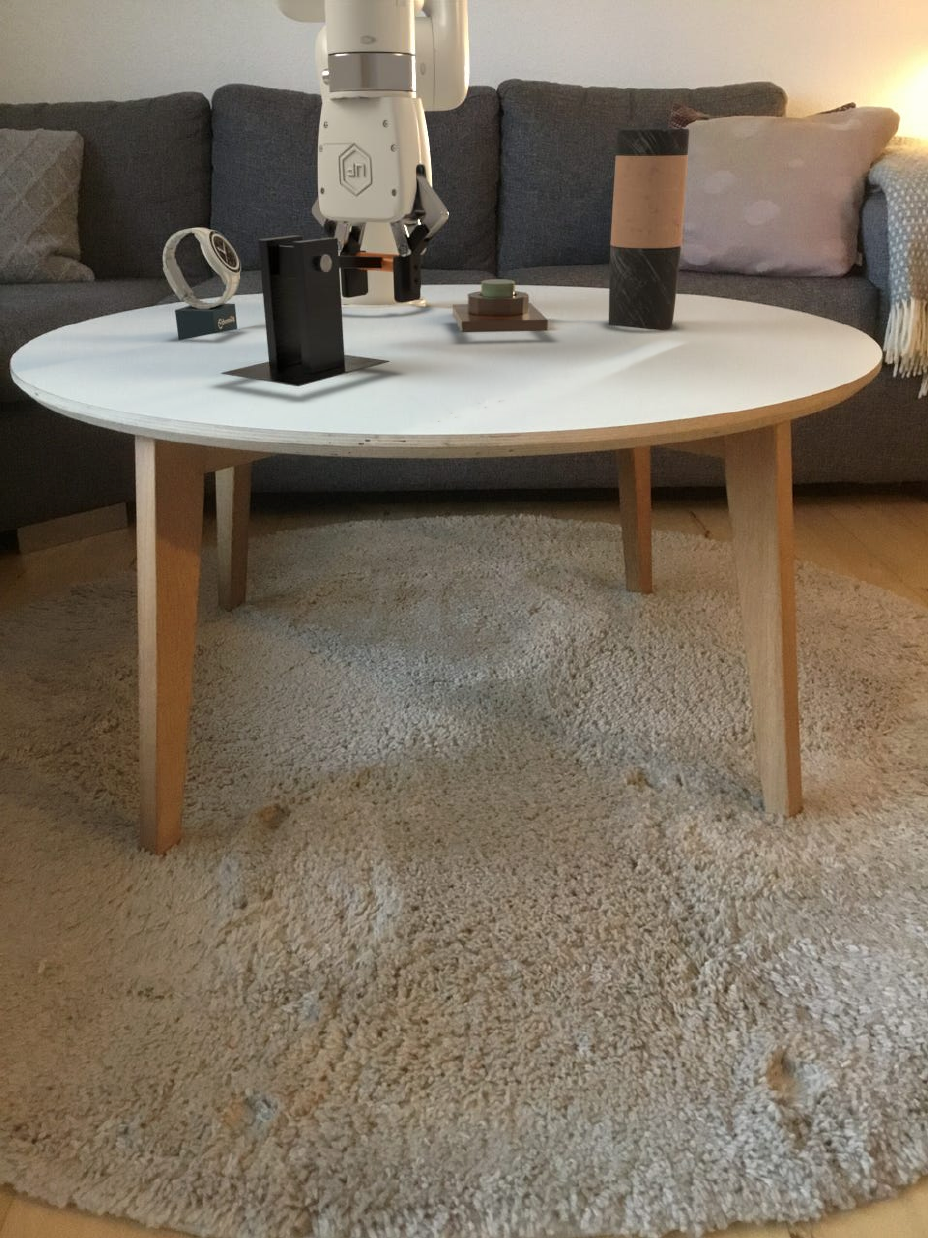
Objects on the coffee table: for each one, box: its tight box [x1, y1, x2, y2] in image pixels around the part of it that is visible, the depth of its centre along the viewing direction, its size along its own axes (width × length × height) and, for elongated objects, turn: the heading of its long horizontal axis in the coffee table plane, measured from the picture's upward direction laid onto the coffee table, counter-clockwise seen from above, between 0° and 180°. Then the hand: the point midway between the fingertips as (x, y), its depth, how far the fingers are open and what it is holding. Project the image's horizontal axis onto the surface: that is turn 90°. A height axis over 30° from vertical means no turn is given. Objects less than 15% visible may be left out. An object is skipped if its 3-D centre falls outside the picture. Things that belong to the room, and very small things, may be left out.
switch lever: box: [279, 245, 399, 277], centre depth 89 cm, size 13×6×2 cm, turn 145°
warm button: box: [480, 278, 516, 297], centre depth 109 cm, size 4×4×2 cm
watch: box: [162, 227, 242, 341], centre depth 107 cm, size 6×8×11 cm
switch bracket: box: [220, 235, 390, 387], centre depth 87 cm, size 12×9×12 cm
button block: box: [451, 290, 549, 333], centre depth 110 cm, size 12×9×4 cm
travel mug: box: [608, 128, 690, 331], centre depth 109 cm, size 8×8×20 cm
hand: (381, 296), depth 95 cm, fingers closed on switch lever, 5 cm apart
